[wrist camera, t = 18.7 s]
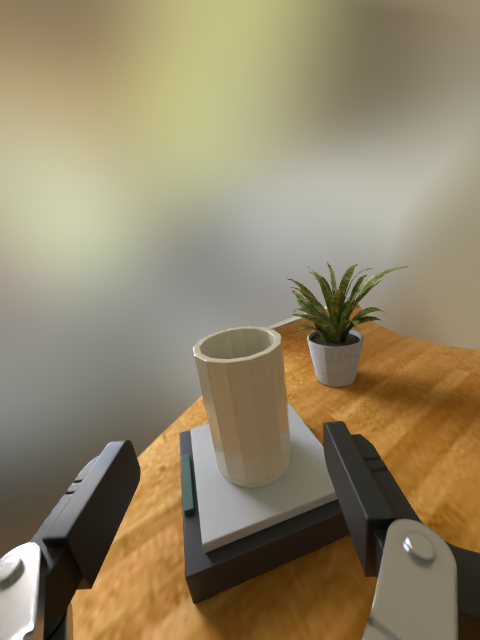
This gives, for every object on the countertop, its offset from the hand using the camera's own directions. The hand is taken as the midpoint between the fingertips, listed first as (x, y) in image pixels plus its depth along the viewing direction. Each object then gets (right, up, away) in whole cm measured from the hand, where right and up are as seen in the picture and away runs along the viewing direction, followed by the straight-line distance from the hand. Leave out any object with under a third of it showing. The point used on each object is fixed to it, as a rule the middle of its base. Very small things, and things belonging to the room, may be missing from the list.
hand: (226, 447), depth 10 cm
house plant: (+15, -3, +25) cm, 30 cm away
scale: (+2, -9, +11) cm, 14 cm away
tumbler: (+2, -6, +10) cm, 12 cm away
